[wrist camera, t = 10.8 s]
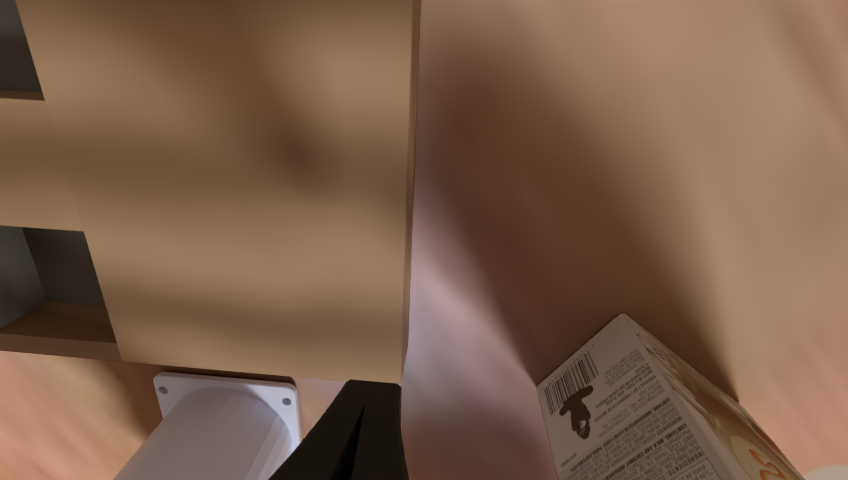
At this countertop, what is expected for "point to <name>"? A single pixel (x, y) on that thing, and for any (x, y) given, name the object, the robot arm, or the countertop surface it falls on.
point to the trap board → (210, 183)
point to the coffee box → (649, 417)
